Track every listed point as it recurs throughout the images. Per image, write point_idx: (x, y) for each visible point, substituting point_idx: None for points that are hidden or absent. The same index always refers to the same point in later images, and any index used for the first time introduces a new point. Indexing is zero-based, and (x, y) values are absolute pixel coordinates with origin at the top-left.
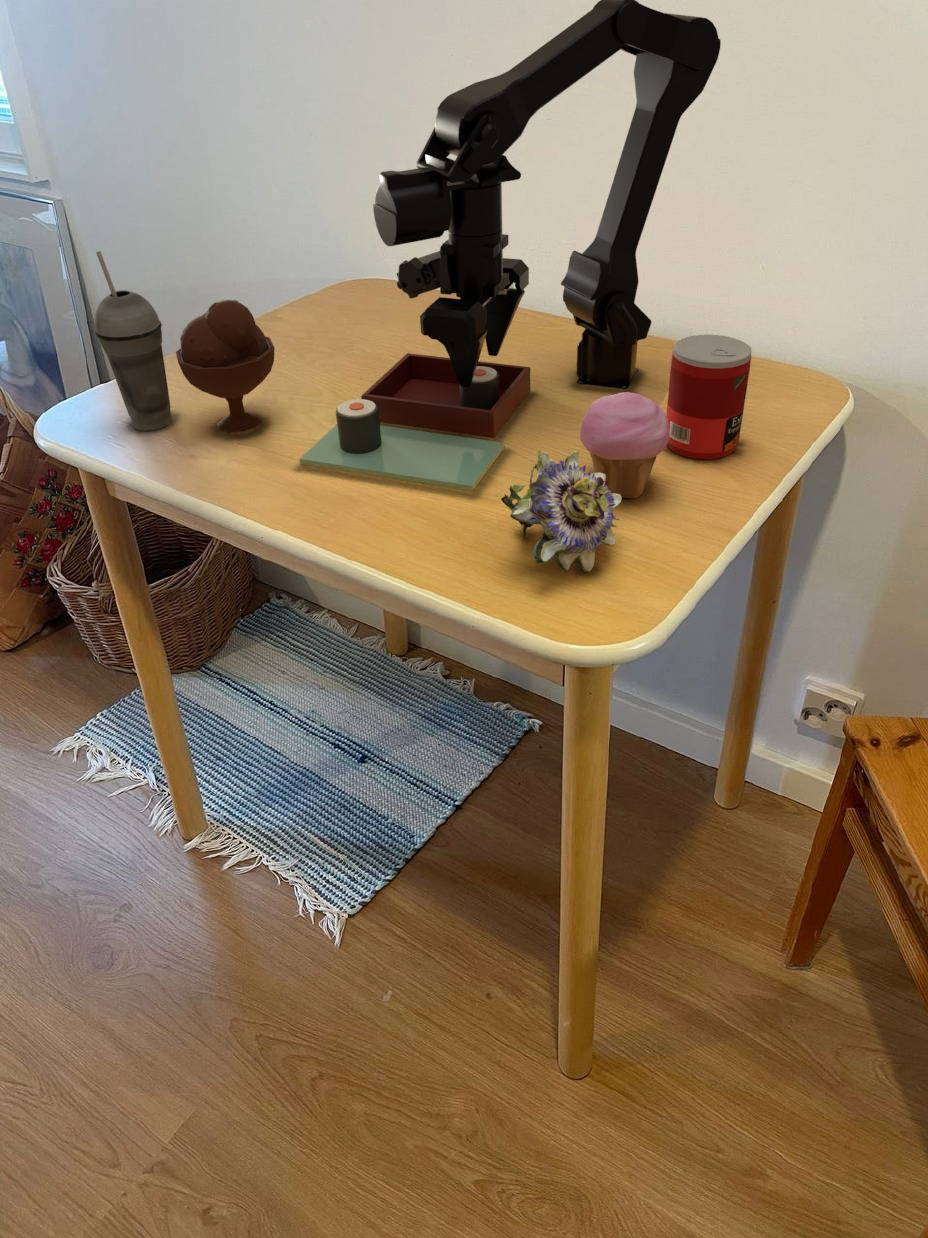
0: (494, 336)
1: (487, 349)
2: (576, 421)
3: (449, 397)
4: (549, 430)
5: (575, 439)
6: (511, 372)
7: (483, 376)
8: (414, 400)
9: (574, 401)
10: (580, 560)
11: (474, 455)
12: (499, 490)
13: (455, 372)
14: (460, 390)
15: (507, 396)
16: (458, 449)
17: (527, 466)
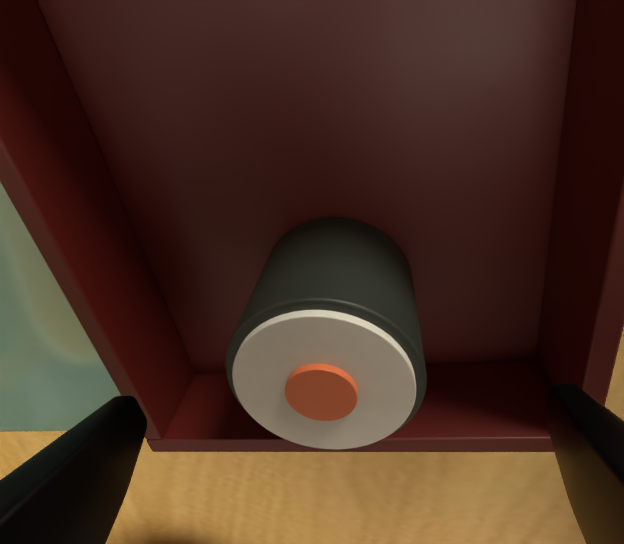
0: (609, 532)
1: (566, 404)
2: (401, 485)
3: (386, 119)
4: (326, 452)
5: (311, 497)
6: (570, 372)
7: (298, 414)
8: (7, 164)
9: (527, 462)
10: None
11: (52, 397)
12: (39, 440)
13: (38, 453)
14: (262, 282)
15: (288, 449)
16: (43, 355)
17: (149, 455)
